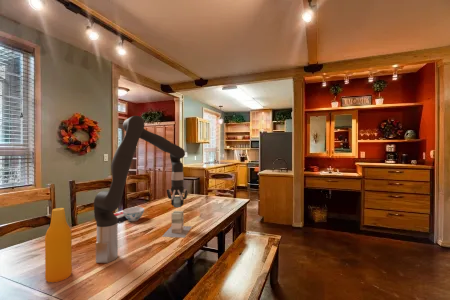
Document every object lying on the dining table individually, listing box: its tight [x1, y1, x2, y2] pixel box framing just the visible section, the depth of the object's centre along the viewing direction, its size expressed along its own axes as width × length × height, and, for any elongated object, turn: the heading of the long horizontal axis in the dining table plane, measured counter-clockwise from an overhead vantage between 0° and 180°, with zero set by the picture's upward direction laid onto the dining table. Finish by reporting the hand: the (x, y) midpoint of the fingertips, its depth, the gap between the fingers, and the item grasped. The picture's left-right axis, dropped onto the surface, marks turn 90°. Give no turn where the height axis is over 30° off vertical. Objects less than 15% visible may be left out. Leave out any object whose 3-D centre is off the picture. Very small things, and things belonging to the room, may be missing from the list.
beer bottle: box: [44, 207, 73, 284], centre depth 97 cm, size 9×9×29 cm
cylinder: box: [173, 195, 182, 208], centre depth 146 cm, size 5×5×6 cm
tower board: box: [161, 225, 193, 239], centre depth 146 cm, size 19×14×2 cm
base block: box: [171, 220, 185, 233], centre depth 146 cm, size 6×6×6 cm
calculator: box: [113, 211, 128, 224], centre depth 175 cm, size 11×4×15 cm
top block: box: [171, 210, 185, 224], centre depth 146 cm, size 6×6×6 cm
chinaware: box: [122, 206, 145, 222], centre depth 173 cm, size 15×15×8 cm
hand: (177, 205), depth 146 cm, fingers closed on cylinder, 5 cm apart
